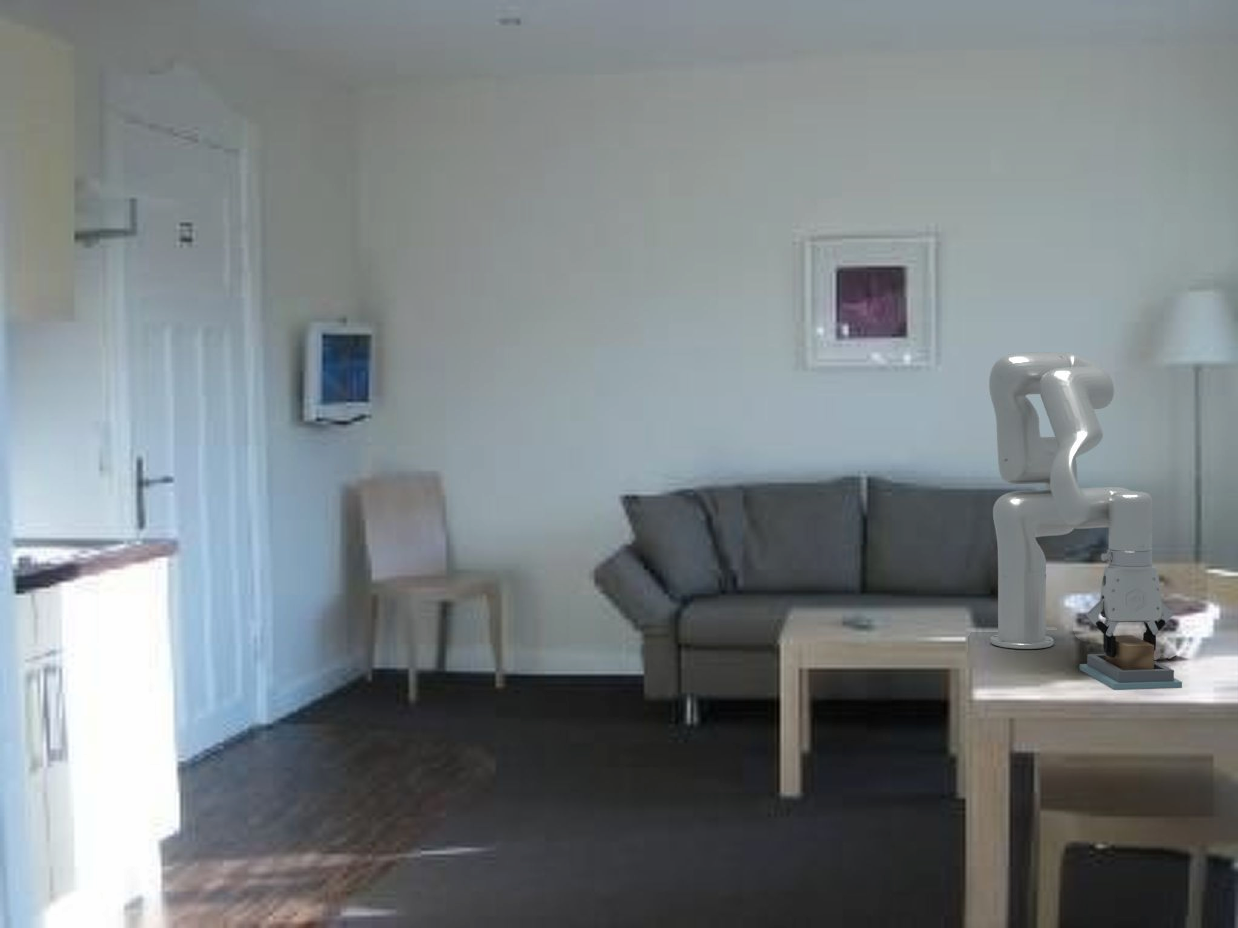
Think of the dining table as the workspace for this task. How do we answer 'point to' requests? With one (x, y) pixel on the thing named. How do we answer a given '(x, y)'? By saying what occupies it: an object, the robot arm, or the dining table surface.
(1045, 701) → the dining table surface
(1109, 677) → the cradle
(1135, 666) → the walnut block
